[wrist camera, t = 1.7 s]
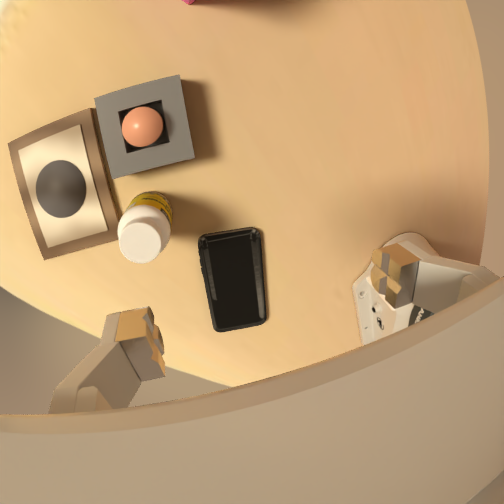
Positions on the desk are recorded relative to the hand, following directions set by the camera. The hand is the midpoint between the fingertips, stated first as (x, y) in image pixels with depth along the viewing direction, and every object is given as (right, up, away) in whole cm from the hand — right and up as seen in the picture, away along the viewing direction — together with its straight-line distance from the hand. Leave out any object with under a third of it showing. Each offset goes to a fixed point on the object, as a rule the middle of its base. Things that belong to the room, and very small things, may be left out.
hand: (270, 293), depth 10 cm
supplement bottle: (-13, +6, +24) cm, 28 cm away
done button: (-12, +15, +18) cm, 26 cm away
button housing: (-12, +15, +20) cm, 28 cm away
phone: (-3, -2, +31) cm, 31 cm away
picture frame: (-23, +9, +20) cm, 32 cm away
